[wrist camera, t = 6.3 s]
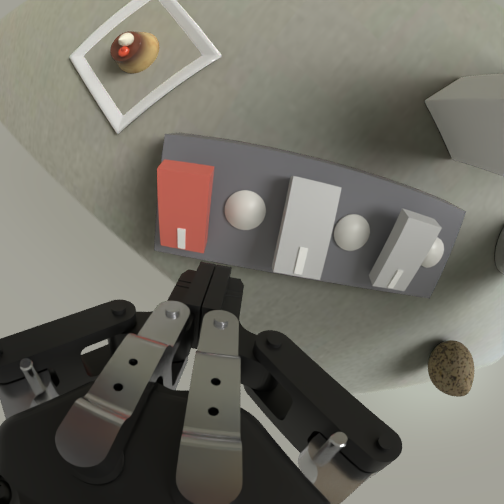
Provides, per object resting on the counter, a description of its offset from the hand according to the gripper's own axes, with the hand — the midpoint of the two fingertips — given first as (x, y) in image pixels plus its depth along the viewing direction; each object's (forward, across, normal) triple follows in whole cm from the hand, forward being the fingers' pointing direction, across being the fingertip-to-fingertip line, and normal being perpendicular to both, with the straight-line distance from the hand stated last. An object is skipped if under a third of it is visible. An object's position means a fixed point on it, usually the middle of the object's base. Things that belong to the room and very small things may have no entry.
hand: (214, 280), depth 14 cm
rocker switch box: (+14, -7, -1) cm, 16 cm away
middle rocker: (+8, -5, -1) cm, 10 cm away
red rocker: (+8, +4, -1) cm, 9 cm away
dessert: (+14, +12, -14) cm, 23 cm away
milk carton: (+14, -21, -15) cm, 29 cm away
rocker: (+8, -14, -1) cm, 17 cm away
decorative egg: (+15, -33, +15) cm, 39 cm away
